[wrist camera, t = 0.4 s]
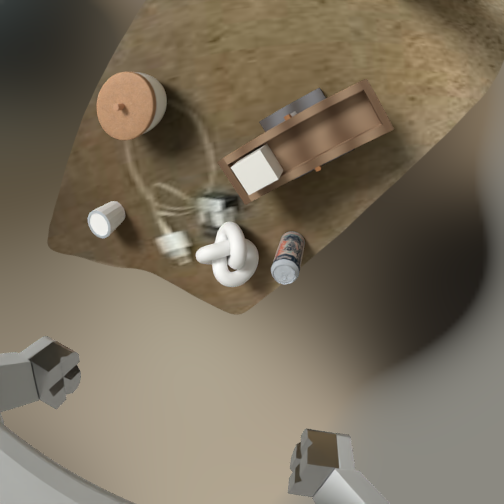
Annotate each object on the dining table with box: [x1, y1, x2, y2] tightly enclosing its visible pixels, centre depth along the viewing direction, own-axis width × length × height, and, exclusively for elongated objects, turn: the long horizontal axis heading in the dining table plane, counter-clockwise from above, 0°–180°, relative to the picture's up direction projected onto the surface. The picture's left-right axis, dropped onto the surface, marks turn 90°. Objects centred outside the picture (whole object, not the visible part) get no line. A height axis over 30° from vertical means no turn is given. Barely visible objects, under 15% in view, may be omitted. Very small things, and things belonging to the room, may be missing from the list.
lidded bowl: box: [97, 72, 167, 140], centre depth 49 cm, size 13×13×11 cm
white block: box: [231, 144, 283, 195], centre depth 45 cm, size 5×5×5 cm
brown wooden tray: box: [217, 79, 394, 205], centre depth 46 cm, size 25×12×10 cm, turn 124°
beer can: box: [271, 231, 305, 284], centre depth 57 cm, size 5×5×12 cm
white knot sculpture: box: [196, 221, 259, 287], centre depth 62 cm, size 11×12×9 cm
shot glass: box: [88, 201, 125, 238], centre depth 66 cm, size 7×7×7 cm
